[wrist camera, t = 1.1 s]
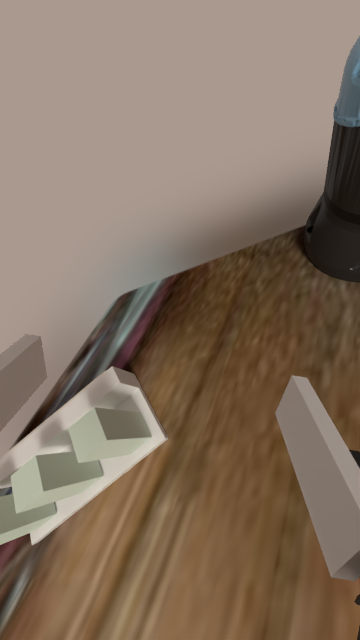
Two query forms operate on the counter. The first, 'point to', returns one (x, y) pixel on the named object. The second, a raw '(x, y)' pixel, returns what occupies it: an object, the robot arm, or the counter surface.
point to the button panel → (54, 437)
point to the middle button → (52, 479)
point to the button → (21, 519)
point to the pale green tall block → (108, 434)
